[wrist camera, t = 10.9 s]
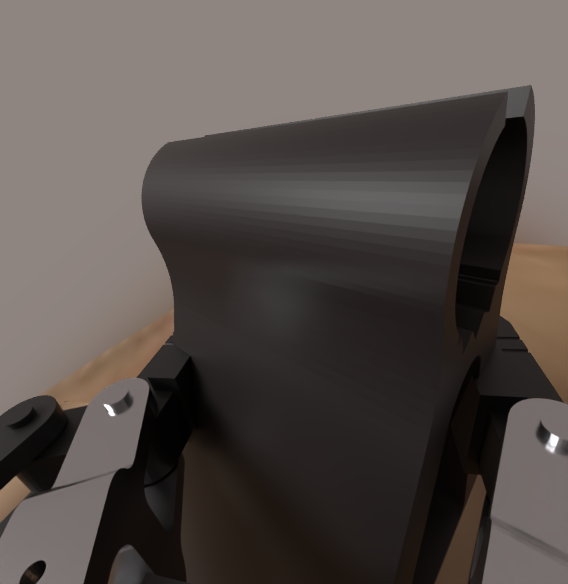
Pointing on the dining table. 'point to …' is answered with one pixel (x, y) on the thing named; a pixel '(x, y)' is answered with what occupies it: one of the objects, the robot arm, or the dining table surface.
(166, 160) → the phone stand
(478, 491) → the oak board
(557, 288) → the dining table surface
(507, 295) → the dining table surface
